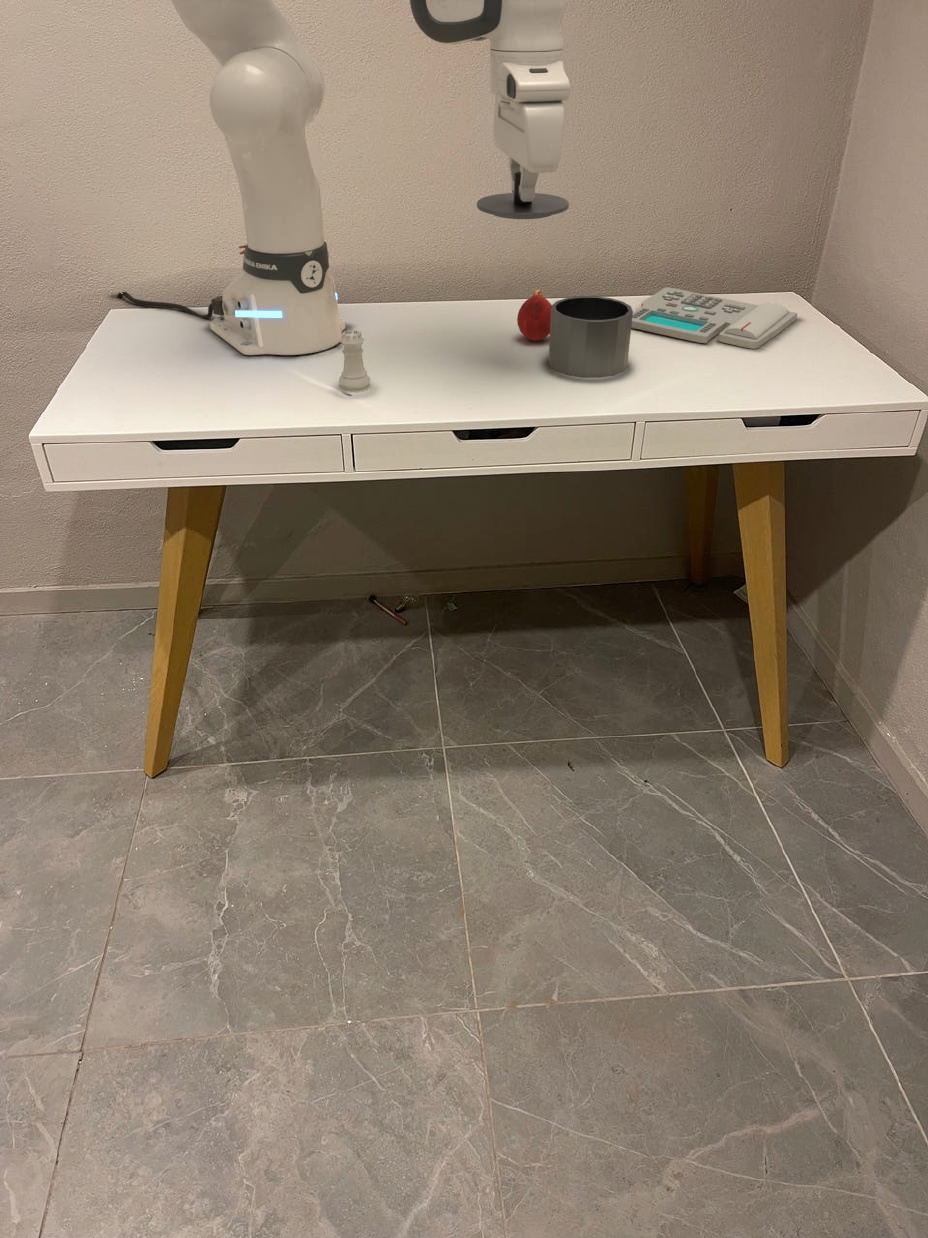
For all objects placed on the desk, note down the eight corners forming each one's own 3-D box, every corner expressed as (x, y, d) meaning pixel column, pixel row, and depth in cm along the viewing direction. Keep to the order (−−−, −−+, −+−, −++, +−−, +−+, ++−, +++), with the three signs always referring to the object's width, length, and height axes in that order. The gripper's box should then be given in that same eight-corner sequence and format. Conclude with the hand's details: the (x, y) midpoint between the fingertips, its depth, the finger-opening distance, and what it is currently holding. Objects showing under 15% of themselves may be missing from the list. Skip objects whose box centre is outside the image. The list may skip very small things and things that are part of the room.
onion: (551, 351, 145) (554, 297, 141) (513, 348, 146) (515, 294, 141) (556, 338, 150) (559, 285, 145) (519, 335, 151) (521, 283, 146)
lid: (458, 210, 127) (457, 172, 124) (523, 196, 134) (524, 160, 131) (521, 227, 120) (522, 187, 117) (587, 211, 126) (589, 173, 124)
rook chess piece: (358, 399, 130) (354, 340, 125) (332, 392, 132) (327, 334, 127) (378, 388, 133) (375, 331, 128) (352, 381, 135) (348, 325, 130)
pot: (532, 366, 140) (535, 307, 135) (582, 347, 146) (586, 290, 142) (592, 387, 134) (597, 326, 129) (641, 367, 140) (648, 308, 135)
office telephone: (800, 304, 156) (757, 338, 143) (796, 320, 158) (754, 356, 144) (667, 278, 167) (615, 308, 153) (665, 293, 168) (613, 325, 154)
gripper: (482, 67, 125) (482, 182, 133) (521, 87, 109) (517, 216, 117) (529, 66, 126) (526, 180, 134) (574, 85, 110) (568, 213, 118)
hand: (522, 197), depth 126 cm, fingers closed on lid, 2 cm apart
